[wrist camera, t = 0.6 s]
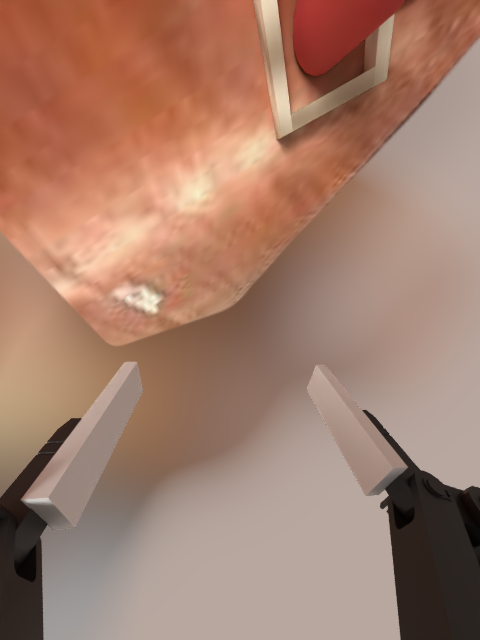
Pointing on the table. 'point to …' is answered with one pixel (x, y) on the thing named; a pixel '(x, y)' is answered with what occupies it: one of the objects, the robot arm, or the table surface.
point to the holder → (279, 98)
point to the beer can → (335, 29)
